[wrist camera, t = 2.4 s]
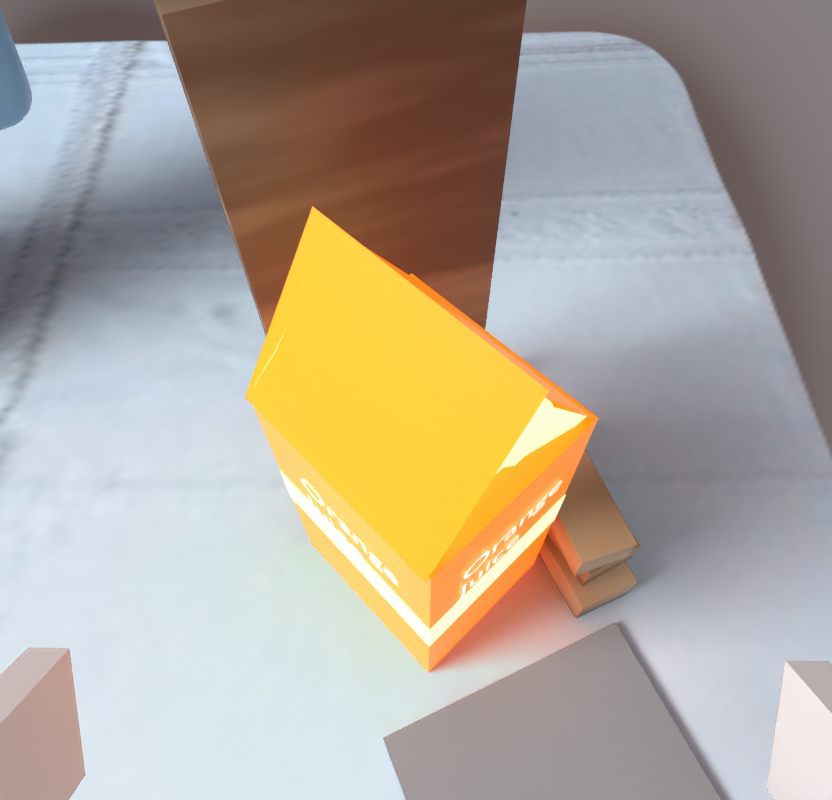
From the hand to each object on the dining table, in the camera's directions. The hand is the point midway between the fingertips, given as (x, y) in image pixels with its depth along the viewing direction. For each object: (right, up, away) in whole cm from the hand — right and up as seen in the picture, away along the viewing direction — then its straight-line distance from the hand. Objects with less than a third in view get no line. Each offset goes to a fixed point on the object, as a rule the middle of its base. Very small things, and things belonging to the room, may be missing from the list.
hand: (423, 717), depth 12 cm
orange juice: (0, -2, +21) cm, 22 cm away
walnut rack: (+1, +1, +23) cm, 23 cm away
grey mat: (+6, -12, +15) cm, 20 cm away
